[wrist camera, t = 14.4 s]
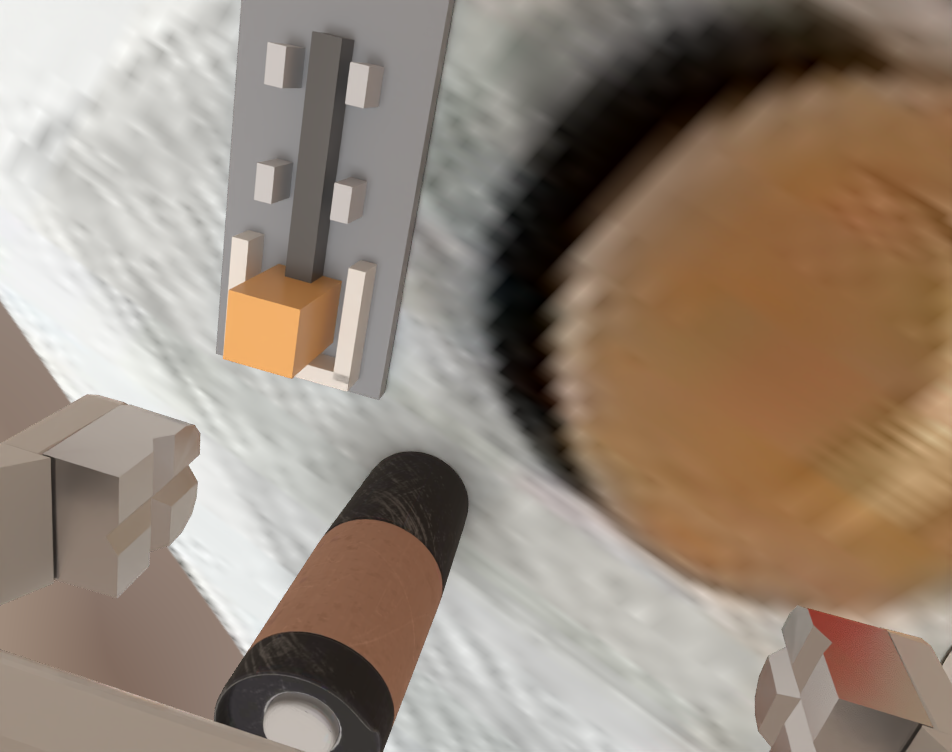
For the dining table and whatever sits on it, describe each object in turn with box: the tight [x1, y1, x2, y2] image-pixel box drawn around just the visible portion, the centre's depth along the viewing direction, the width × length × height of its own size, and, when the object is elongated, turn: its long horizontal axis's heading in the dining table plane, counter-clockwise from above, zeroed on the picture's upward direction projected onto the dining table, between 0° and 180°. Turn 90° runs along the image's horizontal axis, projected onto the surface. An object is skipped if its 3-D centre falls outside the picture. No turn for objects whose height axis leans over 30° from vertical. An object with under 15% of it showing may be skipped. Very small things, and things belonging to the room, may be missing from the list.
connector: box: [223, 31, 355, 379], centre depth 39 cm, size 17×4×6 cm, turn 168°
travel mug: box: [214, 452, 468, 752], centre depth 40 cm, size 8×8×20 cm
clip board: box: [216, 0, 455, 400], centre depth 40 cm, size 11×28×4 cm, turn 168°
